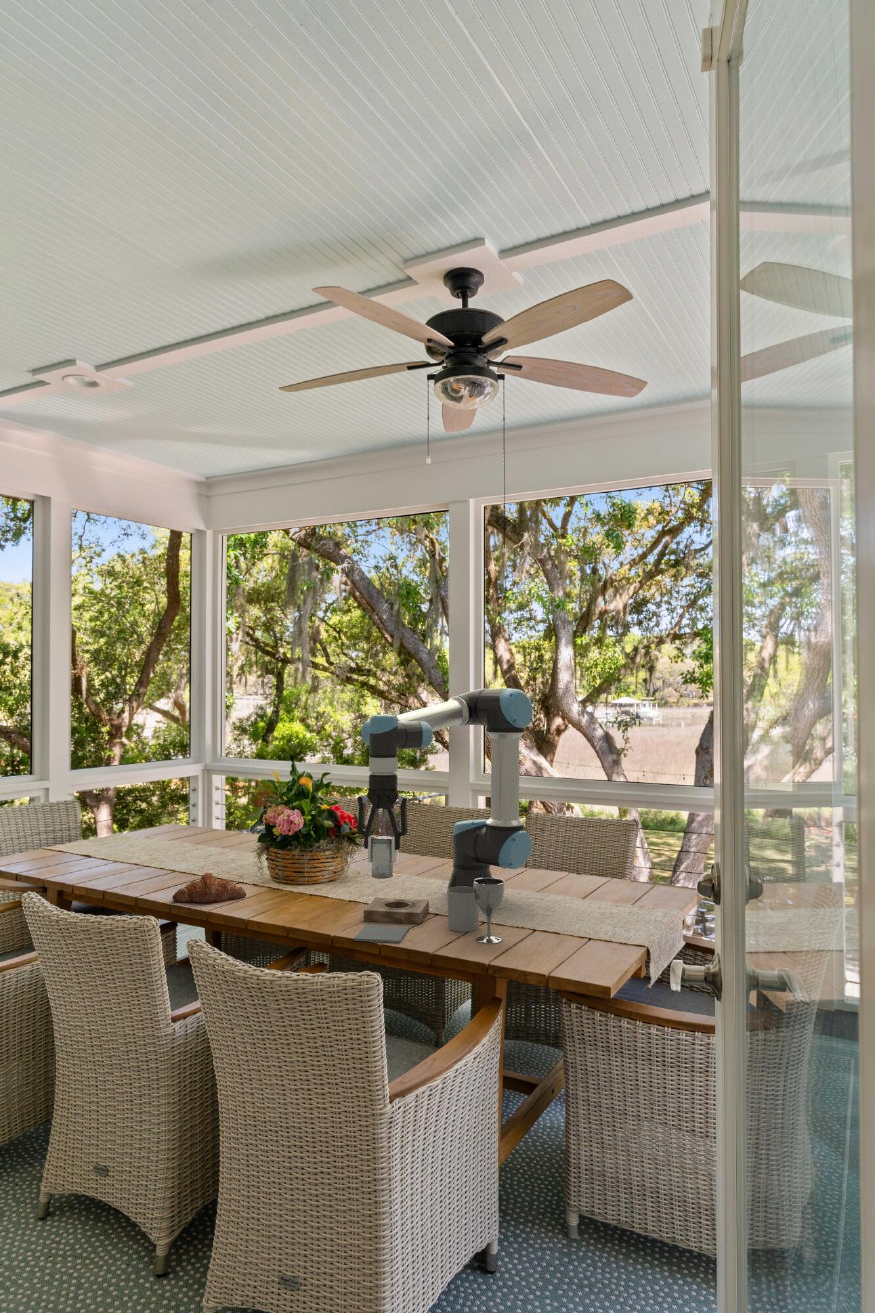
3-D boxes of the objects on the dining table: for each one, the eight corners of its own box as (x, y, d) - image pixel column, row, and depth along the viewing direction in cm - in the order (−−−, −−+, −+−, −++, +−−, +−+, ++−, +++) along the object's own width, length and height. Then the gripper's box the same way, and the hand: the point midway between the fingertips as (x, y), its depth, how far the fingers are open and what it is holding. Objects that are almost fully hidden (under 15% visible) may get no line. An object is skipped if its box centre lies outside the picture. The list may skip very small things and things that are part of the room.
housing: (428, 910, 242) (428, 900, 242) (420, 923, 228) (420, 912, 228) (375, 907, 244) (375, 897, 244) (363, 920, 230) (363, 910, 230)
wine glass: (502, 935, 218) (502, 877, 218) (506, 944, 210) (506, 884, 210) (472, 935, 218) (472, 877, 218) (474, 944, 210) (474, 884, 210)
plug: (394, 874, 220) (395, 836, 221) (390, 879, 215) (390, 840, 215) (374, 873, 221) (374, 835, 222) (369, 878, 216) (369, 839, 216)
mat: (408, 929, 222) (408, 927, 222) (399, 943, 210) (399, 940, 210) (365, 927, 224) (365, 925, 224) (353, 940, 212) (353, 938, 212)
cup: (460, 921, 231) (460, 884, 231) (484, 926, 226) (484, 889, 226) (441, 927, 224) (441, 890, 225) (465, 933, 219) (465, 895, 219)
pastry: (213, 891, 265) (214, 865, 265) (248, 897, 256) (248, 871, 257) (170, 902, 250) (171, 875, 251) (206, 909, 242) (206, 882, 242)
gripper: (420, 772, 221) (419, 860, 220) (352, 771, 224) (351, 857, 223) (415, 775, 214) (414, 866, 213) (345, 773, 217) (344, 863, 216)
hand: (382, 861), depth 218 cm, fingers closed on plug, 6 cm apart
